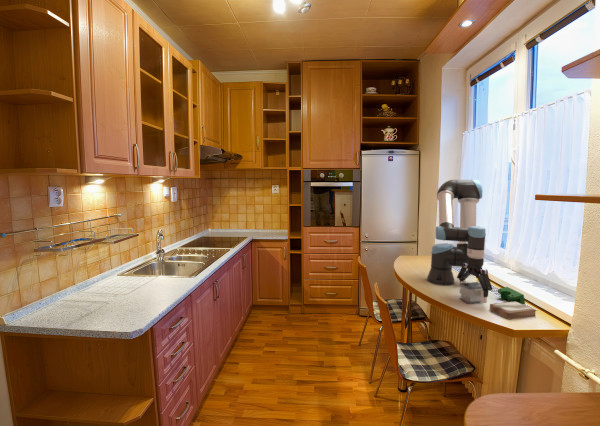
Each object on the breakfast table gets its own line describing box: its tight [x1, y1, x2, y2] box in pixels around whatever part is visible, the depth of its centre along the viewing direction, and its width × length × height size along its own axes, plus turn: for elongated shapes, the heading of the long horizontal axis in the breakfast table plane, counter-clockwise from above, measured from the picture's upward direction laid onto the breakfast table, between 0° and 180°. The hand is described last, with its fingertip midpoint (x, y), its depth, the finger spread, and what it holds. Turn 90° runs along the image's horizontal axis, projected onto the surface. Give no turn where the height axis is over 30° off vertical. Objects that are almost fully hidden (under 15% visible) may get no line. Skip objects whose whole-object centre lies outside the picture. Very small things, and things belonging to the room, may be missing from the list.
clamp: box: [497, 286, 526, 305], centre depth 152 cm, size 12×6×9 cm, turn 177°
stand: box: [489, 301, 537, 320], centre depth 139 cm, size 10×15×3 cm, turn 103°
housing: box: [459, 281, 483, 305], centre depth 153 cm, size 6×10×9 cm, turn 103°
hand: (472, 297), depth 153 cm, fingers open, 13 cm apart
